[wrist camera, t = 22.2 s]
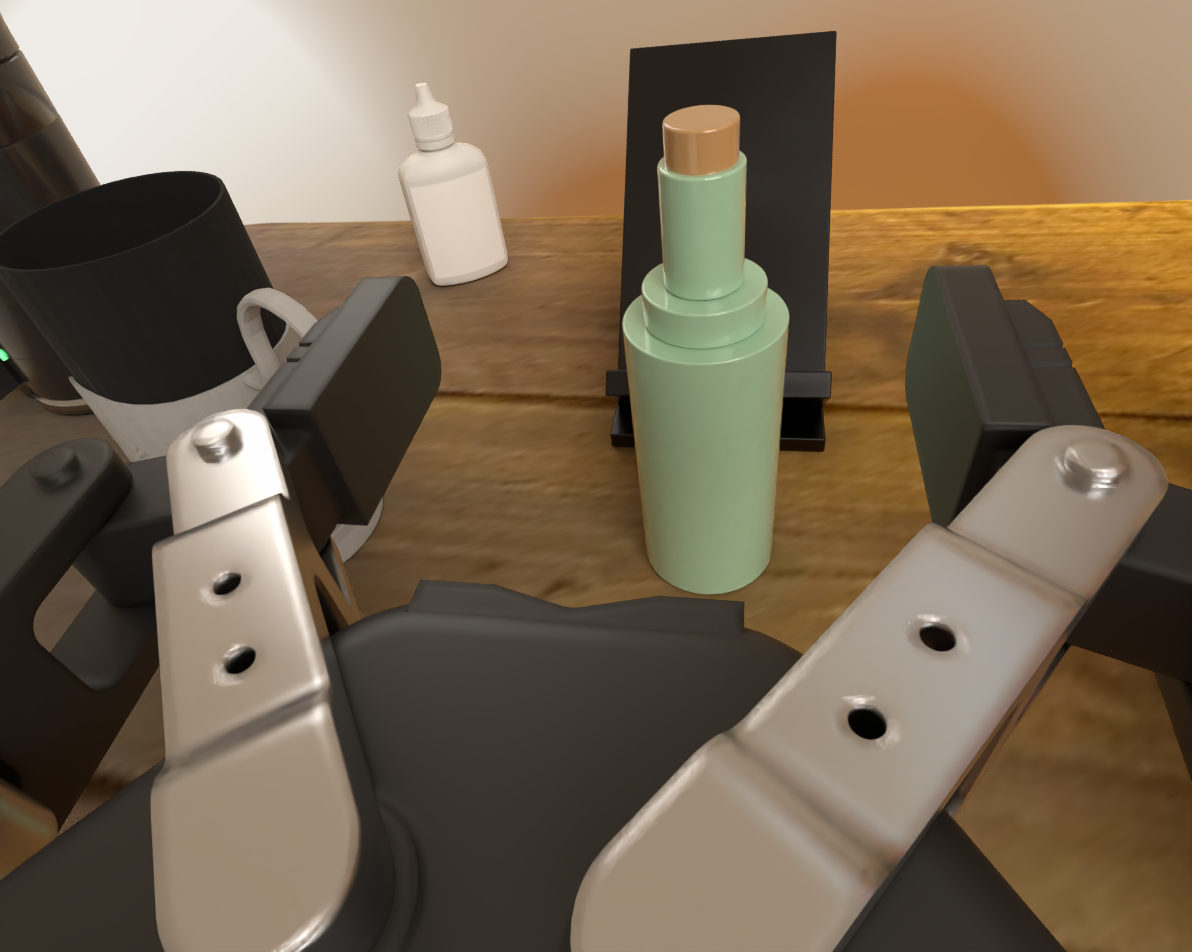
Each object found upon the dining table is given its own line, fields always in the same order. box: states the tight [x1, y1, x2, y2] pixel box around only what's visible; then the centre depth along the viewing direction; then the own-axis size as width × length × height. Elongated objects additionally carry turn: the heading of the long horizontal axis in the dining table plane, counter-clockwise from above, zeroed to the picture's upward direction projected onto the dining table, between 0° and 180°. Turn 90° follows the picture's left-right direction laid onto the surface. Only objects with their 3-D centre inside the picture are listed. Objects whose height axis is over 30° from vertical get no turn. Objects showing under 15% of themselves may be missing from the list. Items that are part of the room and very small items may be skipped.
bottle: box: [622, 105, 789, 594], centre depth 25 cm, size 14×5×14 cm
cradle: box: [606, 31, 836, 452], centre depth 35 cm, size 16×10×14 cm, turn 170°
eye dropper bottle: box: [398, 83, 508, 286], centre depth 47 cm, size 4×6×12 cm
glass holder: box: [0, 171, 383, 563], centre depth 28 cm, size 9×14×15 cm, turn 56°
